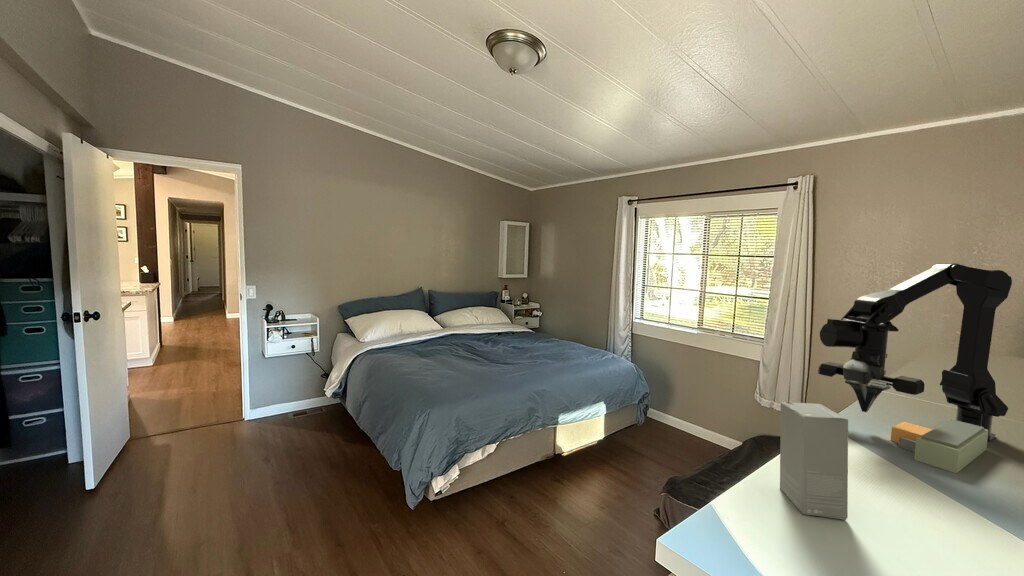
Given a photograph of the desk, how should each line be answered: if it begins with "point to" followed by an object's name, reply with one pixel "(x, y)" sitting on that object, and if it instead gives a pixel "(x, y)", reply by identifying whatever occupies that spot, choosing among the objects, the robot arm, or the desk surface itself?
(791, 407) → the skincare box
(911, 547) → the desk surface
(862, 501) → the desk surface
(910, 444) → the sage green lidded box
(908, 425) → the amber cuboid
